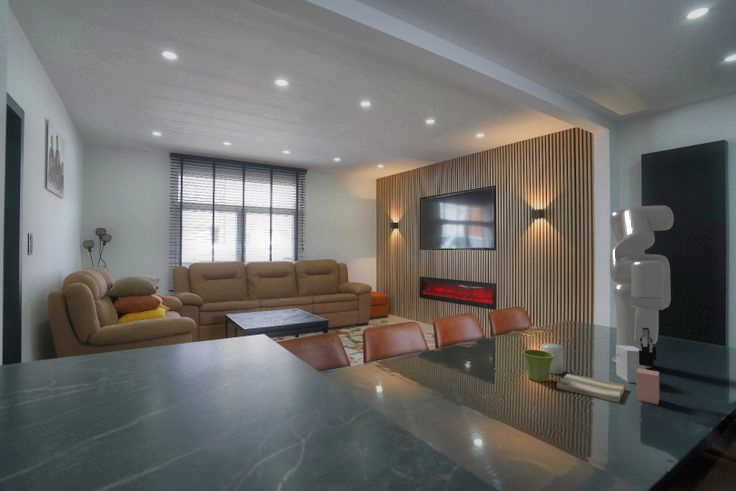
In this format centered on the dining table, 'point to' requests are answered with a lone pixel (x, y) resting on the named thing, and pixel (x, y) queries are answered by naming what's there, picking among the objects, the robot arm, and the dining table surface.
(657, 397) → the block
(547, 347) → the pale rounded smooth block
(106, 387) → the dining table surface
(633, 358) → the small box
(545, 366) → the plant pot
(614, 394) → the board
